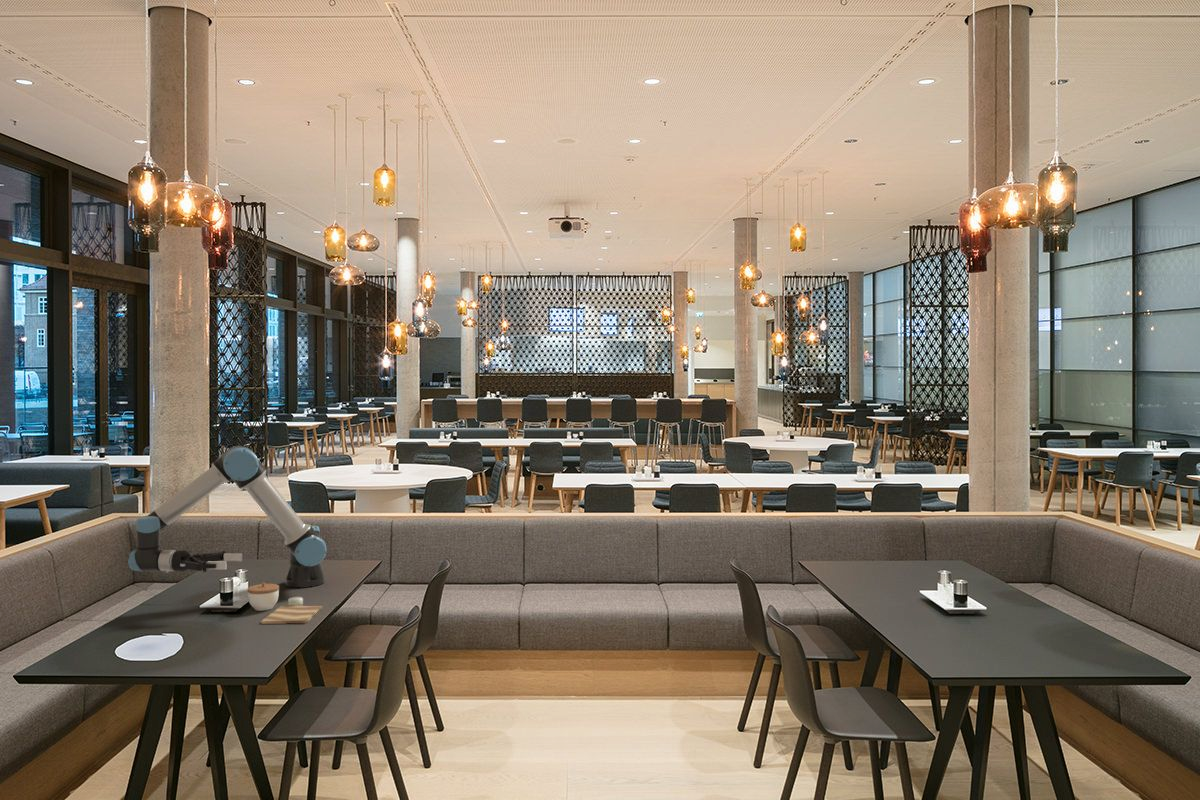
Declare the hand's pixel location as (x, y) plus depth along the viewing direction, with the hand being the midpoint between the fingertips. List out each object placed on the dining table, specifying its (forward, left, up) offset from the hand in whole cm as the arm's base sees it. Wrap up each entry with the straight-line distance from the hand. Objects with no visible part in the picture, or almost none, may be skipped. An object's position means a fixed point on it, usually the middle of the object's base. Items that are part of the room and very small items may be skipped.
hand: (234, 561), depth 314 cm
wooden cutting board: (+10, +24, -17) cm, 31 cm away
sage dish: (-2, +21, -17) cm, 27 cm away
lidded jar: (0, +10, -17) cm, 20 cm away
